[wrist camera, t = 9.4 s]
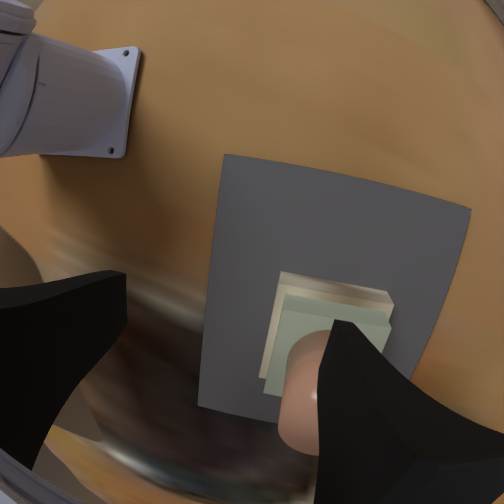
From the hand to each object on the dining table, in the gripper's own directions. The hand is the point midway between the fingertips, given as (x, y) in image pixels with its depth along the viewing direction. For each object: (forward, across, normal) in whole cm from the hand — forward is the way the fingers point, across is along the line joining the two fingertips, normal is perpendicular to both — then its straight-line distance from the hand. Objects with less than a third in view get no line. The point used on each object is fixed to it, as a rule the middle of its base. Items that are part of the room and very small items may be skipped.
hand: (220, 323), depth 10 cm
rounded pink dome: (+6, -5, +5) cm, 9 cm away
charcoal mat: (+10, -5, +5) cm, 13 cm away
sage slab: (+8, -5, +5) cm, 11 cm away
